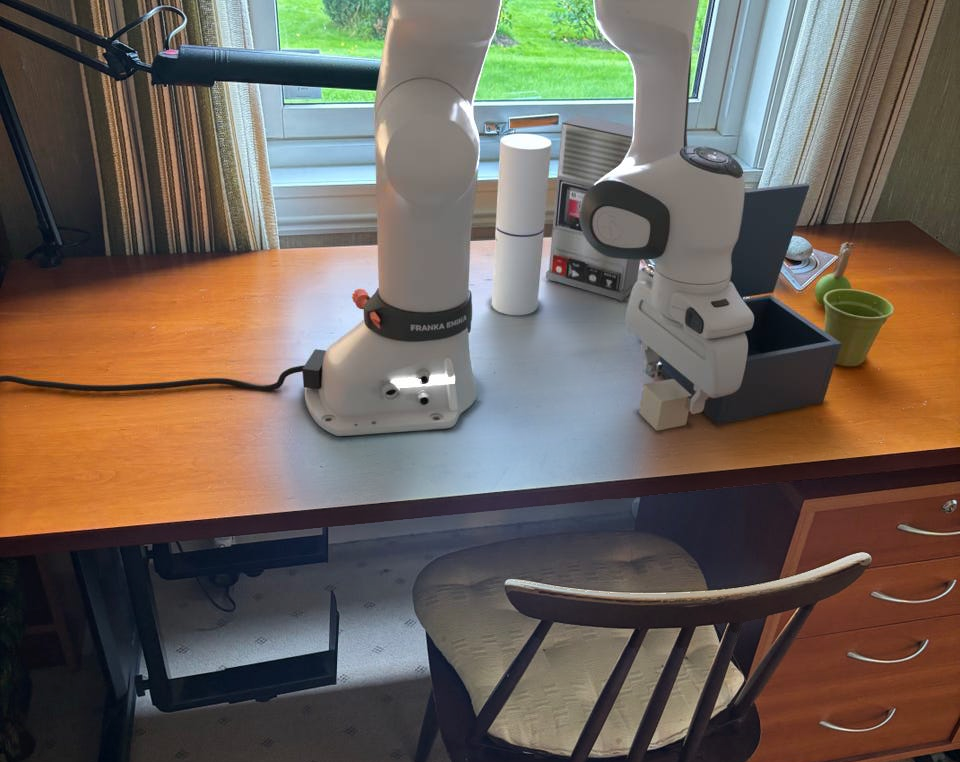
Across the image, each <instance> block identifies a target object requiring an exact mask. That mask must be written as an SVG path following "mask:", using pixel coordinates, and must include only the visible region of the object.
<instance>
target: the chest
mask: <svg viewBox="0 0 960 762" xmlns="http://www.w3.org/2000/svg"><path fill="white" fill-rule="evenodd" d="M742 300H743V301H744V302H745V304H746V305H747V306H748V308H749V309H750V310H751V311H752V313H753V315H754V323H753V327H752V329H751V330H748V331H745V332H744V333H745V334H746V337H747V340H748V353H747V360H746V365H745V370H744V375H743V379H742V383H741V386H740V388H739V389H738V390H737V391H736V392H734V393H733V394H730V395H726V396H722V397H718V398H711V397H708V399H707V400H705V405H704V409H703V411H702V412H701V413H704V415H706V416H707V417H708V419H710V420H711V421H712V422H713V423H714V424H715V425H723V424H728V423H733V422H737V421H742V420H747V419H752V418H756V417H762V416H766V415H771V414H775V413H780V412H784V411H785V412H786V411H791V410H794V409H800V408H804V407H809V406H814V405H819V404H823V403H824V401H825V398H826V395H827V392H828V390H829V389H828V388H829V385H830V382H831V379H832V376H833V372H834V370H835V366H836V360H837V357H838V354H839V351H840V347H841V344H842V343H841V342H839V341H838V340H836V339H835V338H833V337H832V336H830V335H829V334H828V333H826V332H825V331H824V329H822V328H821V327H818V326H817V325H816V324H814V322H811V321H810V320H809V319H807V318H806V317H805V316H803V315H801V314H800V313H798V312H797V311H796V310H794V309H793V308H791V307H789V306H788V305H787V304H785V303H784V302H782V301H781V300H780V299H778V298H777V297H775V296H774V295H772V294H764V295H757V296H751V297H745V298H742ZM659 361H660V362H661V363H662V364H663V365H662V369H661V371H662V372H661V375H662V376H663V377H664V378H666V380H669V379H674V380H676V381H677V382H678V383H679V384H680V385H681V386H682V387H683V388H684V389H685V390H686V391H688V392H689V393H690V394H691V395H692V396H694V394H695V393H696V391H695V390H694V383H692V382H691V381H690V380H689V379H687V378H686V377H685V376H684V375H683V374H681V373H680V372H679V371H678V370H676V369H675V368H674V367H673V366H672V365H670V364H669V363H668V362H667V361H666V360H664V359H663V358H662V357H661V356H659Z"/></svg>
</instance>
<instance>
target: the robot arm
mask: <svg viewBox="0 0 960 762" xmlns="http://www.w3.org/2000/svg"><path fill="white" fill-rule="evenodd" d="M592 1H593V10H594V17H595V24H596V25H597V28H598V30H599V31H600V32H601V34H602V35H603V37H604V38H605V39H606V40H607V41H608V42H609V43H610V44H611V45H612V46H613V47H615V48H616V49H617V50H619V51H621V52H623V53H624V54H625V55H626V57H627V58H628V60H629V62H630V64H631V67H632V71H633V79H634V80H633V81H634V86H633V119H632V120H633V121H632V124H633V125H632V126H633V139H632V143H631V146H630V149H629V151H628V153H627V155H626V157H625V158H624V160H623V161H622V163H621V164H620V165H619V166H618V167H616V168H615V169H614V170H612V171H611V172H609V173H608V174H606V175H605V176H604V177H602V178H601V179H600V180H599V181H597V182H596V183H595V184H594V185H593V186H592V187H591V188H590V189H589V190H588V191H587V192H586V193H585V195H584V197H583V199H582V201H581V204H580V210H579V220H580V226H581V229H582V232H583V234H584V236H585V238H586V240H587V241H588V242H589V244H590V245H591V246H592V247H593V248H594V249H595V250H597V251H598V252H599V253H601V254H603V255H605V256H608V257H612V258H620V259H634V260H640V261H642V260H643V261H646V260H647V261H648V260H649V261H650V260H654V265H653V264H646V265H643V266H642V267H641V268H639V272H638V278H637V282H636V283H635V284H634V286H633V288H632V291H631V293H630V294H629V298H628V299H629V300H628V304H627V308H626V313H625V324H626V328H627V330H628V331H629V332H630V333H631V334H632V335H634V336H635V337H636V338H637V339H639V340H640V341H641V346H640V348H641V351H642V355H643V361H644V366H643V373H644V374H646V375H647V376H648V377H649V378H650V379H653V378H658V377H660V376H661V375H662V374H661V372H662V371H661V369H662V365H663V364H662V363H661V362H660V361H659V356H661V357H662V358H663V359H664V360H666V361H667V362H668V363H669V364H670V365H672V366H673V367H674V368H675V369H676V370H678V371H679V372H680V373H681V374H683V375H684V376H685V377H686V378H687V379H689V380H690V381H691V382H692V383H694V390H695V391H696V393H695V394H694V396H688V397H687V398H686V404H685V407H686V408H687V409H688V410H689V412H690V413H691V414H692V415H696V414H700V413H703V412H702V411H703V409H704V405H705V400H707V399H708V397H711V398H718V397H722V396H726V395H730V394H733V393H734V392H736V391H737V390H738V389H739V388H740V386H741V383H742V379H743V375H744V370H745V365H746V360H747V353H748V340H747V337H746V334H745V333H744V332H745V331H748V330H751V329H752V327H753V323H754V315H753V313H752V311H751V310H750V309H749V308H748V306H747V305H746V304H745V302H744V301H743V300H742V299H743V297H742V298H741V297H740V295H739V294H738V292H737V290H736V288H735V286H734V284H733V283H732V282H731V281H730V278H731V273H732V263H731V255H732V251H733V248H734V246H735V244H736V242H737V240H738V237H739V232H740V226H741V221H742V214H743V206H744V195H745V187H746V180H745V179H746V178H745V174H744V173H745V172H744V170H743V168H742V165H741V164H740V163H739V162H738V161H737V160H736V159H735V158H734V157H733V156H732V155H731V154H729V153H727V152H725V151H722V150H721V149H717V148H715V147H711V146H705V145H688V117H689V105H690V89H691V75H692V74H691V73H692V72H691V71H692V57H693V56H692V52H693V51H692V50H693V44H694V43H693V42H694V36H695V28H696V23H697V22H696V21H697V16H698V11H699V4H700V0H592ZM502 3H503V0H391V2H390V9H389V13H388V20H387V26H386V31H385V37H384V42H383V49H382V53H381V60H380V66H379V72H378V78H377V84H376V91H375V96H374V97H375V98H374V102H373V103H374V104H373V127H374V129H373V134H374V150H375V151H374V153H375V159H374V161H375V191H376V192H375V195H376V239H377V274H378V275H377V276H378V277H377V278H378V280H377V281H378V288H377V289H376V290H375V292H374V294H372V296H370V295H369V293H368V292H367V291H366V290H365V289H364V288H358V289H357V288H356V289H355V290H354V291H353V293H351V299H352V301H353V303H354V304H355V306H356V308H357V309H360V310H363V319H362V320H361V321H360V322H358V323H357V324H356V325H354V327H352V328H351V329H350V330H349V331H347V332H346V333H345V334H344V335H342V336H341V337H340V338H338V339H337V340H336V341H333V343H331V344H330V345H329V346H328V347H327V349H326V350H325V349H317V348H315V349H314V350H313V352H312V353H311V354H310V356H309V357H308V360H307V361H306V362H305V364H304V365H297V366H293V367H290V368H287V369H285V370H284V371H282V372H281V373H280V375H279V377H278V378H277V381H276V382H274V383H272V384H268V385H259V384H253V383H248V382H245V381H242V380H237V379H232V378H226V377H209V378H208V377H205V378H204V377H203V378H194V379H193V378H192V379H184V380H183V379H182V380H175V381H164V382H150V383H148V382H147V383H131V384H130V383H129V384H80V383H79V384H78V383H68V382H60V381H59V382H57V381H50V380H49V381H48V380H36V379H29V378H24V377H20V376H15V375H4V374H3V375H0V383H5V382H9V383H16V384H18V385H19V384H20V385H24V386H30V387H37V388H38V387H39V388H49V389H50V388H51V389H59V390H68V391H79V392H80V391H81V392H129V391H130V392H131V391H147V390H161V389H162V390H163V389H174V388H182V387H191V386H192V387H193V386H201V385H226V386H227V385H229V386H234V387H238V388H243V389H247V390H252V391H253V390H254V391H261V392H263V391H264V392H269V391H271V392H272V391H274V390H278V389H280V388H281V387H282V386H283V384H284V382H285V380H286V378H287V377H289V376H291V375H293V374H296V373H297V374H298V373H302V382H303V383H302V384H303V388H304V402H305V405H306V408H307V410H308V412H309V414H310V416H311V417H312V419H313V421H314V422H315V423H316V424H317V425H318V426H319V427H320V428H322V429H323V431H326V432H327V433H329V434H331V435H334V436H337V437H347V436H362V435H374V434H388V433H401V432H402V433H404V432H415V431H416V432H417V431H429V430H430V431H431V430H442V429H450V428H453V427H454V426H455V425H456V424H457V422H458V420H459V418H460V415H461V414H462V413H463V412H464V411H466V410H468V409H469V408H470V407H471V406H472V405H473V404H474V402H475V401H476V400H477V397H478V394H479V393H478V392H479V391H478V385H477V383H476V380H475V376H474V371H473V365H472V359H471V351H470V350H471V348H470V337H469V336H470V335H469V334H470V333H471V331H472V321H473V296H472V294H473V293H472V291H471V290H470V264H471V263H470V262H471V239H472V228H473V227H472V226H473V219H474V214H475V205H476V198H477V197H476V196H477V189H478V188H477V186H478V179H479V178H478V175H479V166H480V165H479V164H480V151H481V142H480V141H481V140H480V136H479V135H480V134H479V131H478V128H477V125H476V123H475V119H474V101H475V97H476V93H477V89H478V85H479V81H480V78H481V74H482V72H483V66H484V65H485V61H486V58H487V55H488V52H489V49H490V46H491V43H492V40H493V39H494V36H495V35H496V31H497V28H498V27H497V26H498V22H499V17H500V11H501V8H502Z"/></svg>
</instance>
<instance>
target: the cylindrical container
mask: <svg viewBox="0 0 960 762" xmlns="http://www.w3.org/2000/svg"><path fill="white" fill-rule="evenodd" d="M499 145H500V146H499V159H498V160H499V161H498V179H497V180H498V181H497V197H496V198H497V200H496V217H495V234H494V235H495V236H494V253H493V272H492V273H493V274H492V289H491V290H492V291H491V307H492V308H493V309H494V310H495V311H497V312H499V313H501V314H505V315H508V316H525V315H529V314H533V313H534V312H535V311H536V310H537V309H538V304H539V303H538V302H539V293H540V292H539V291H540V279H541V267H542V257H543V247H544V246H543V245H544V235H545V225H546V224H545V223H546V212H547V200H548V187H549V175H550V165H551V153H552V141H551V140H550V138H547V137H546V136H542V135H537V134H532V133H511V134H507V135H504V136H501V138H500V144H499Z"/></svg>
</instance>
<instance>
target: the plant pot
mask: <svg viewBox="0 0 960 762" xmlns="http://www.w3.org/2000/svg"><path fill="white" fill-rule="evenodd" d="M824 303H825V307H824V313H825V315H824V316H825V317H824V325H823V331H825V332H826V333H828V334H829V335H830V336H832V337H833V338H835V339H836V340H838V341H839V342H841V343H842V344H841V347H840V351H839V354H838V357H837V360H836V363H835V365H837V366H840V367H841V366H842V367H857V366H860V364H863V363H864V362H865V360H866V358H867V356H868V354H869V353H870V350H871V348H872V346H873V344H874V343H875V340H876V338H877V336H878V334H879V332H880V331H881V328H882V326H883V325H884V324H885V323H886V322H887V320H888V318H889V317H891V316H892V315H893V314H894V311H895V307H894V306H893V304H892V303H891V302H890V301H888V299H886V298H884V297H882V296H880V295H879V294H875V293H873V292H869V291H864V290H860V289H852V288H851V289H837V290H832V291H830V292H827V293H826V294H825V295H824Z"/></svg>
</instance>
